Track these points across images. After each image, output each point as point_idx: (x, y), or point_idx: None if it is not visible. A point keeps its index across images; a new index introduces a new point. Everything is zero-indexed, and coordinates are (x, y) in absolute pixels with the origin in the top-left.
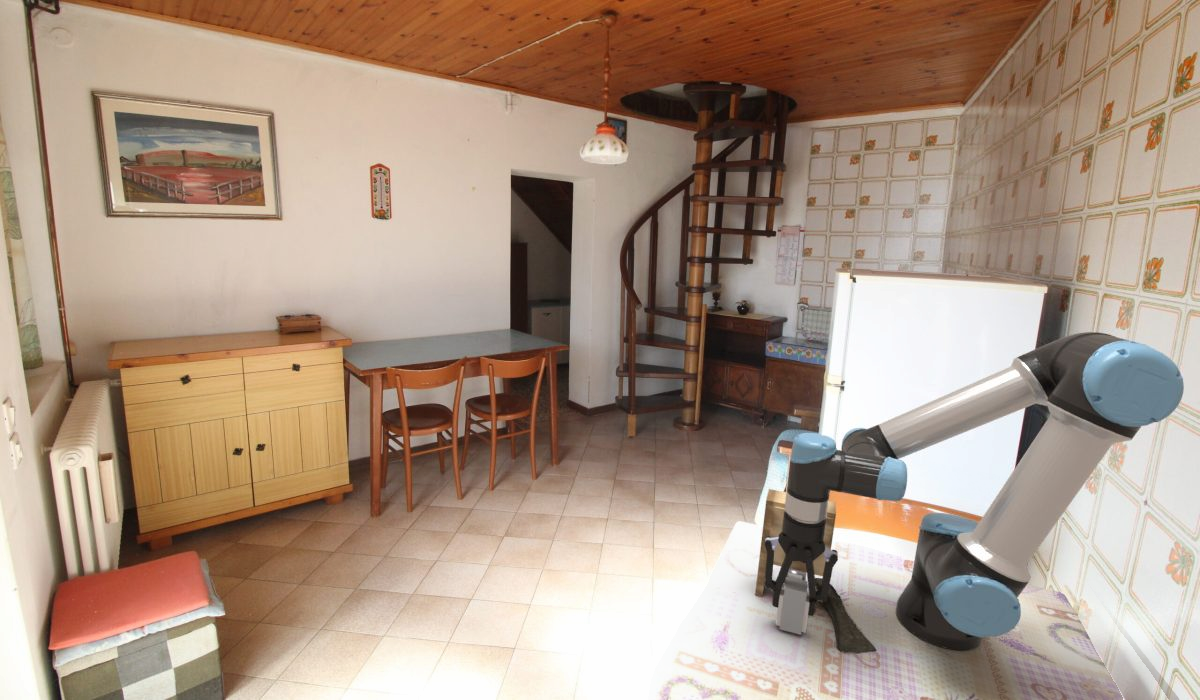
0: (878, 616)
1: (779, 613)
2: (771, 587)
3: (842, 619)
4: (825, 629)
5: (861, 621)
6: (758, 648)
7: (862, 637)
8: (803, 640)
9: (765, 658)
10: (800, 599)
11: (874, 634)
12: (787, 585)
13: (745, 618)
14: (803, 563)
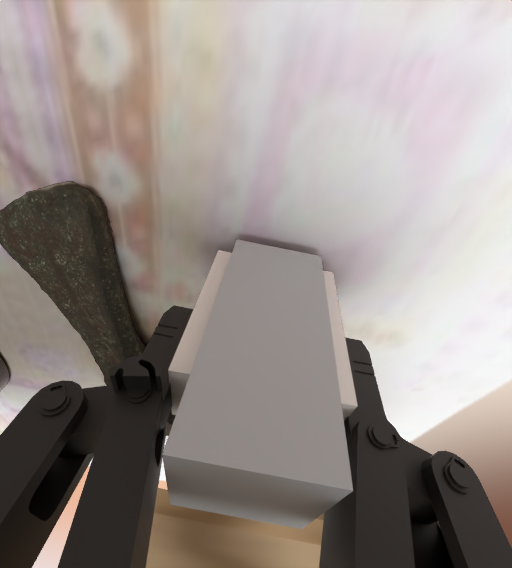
0: (35, 348)
1: (331, 310)
2: (412, 457)
3: (96, 324)
4: (154, 288)
5: (66, 330)
6: (473, 108)
7: (30, 265)
8: (229, 221)
9: (473, 10)
10: (224, 388)
11: (20, 290)
12: (317, 498)
13: (435, 297)
14: (192, 555)
